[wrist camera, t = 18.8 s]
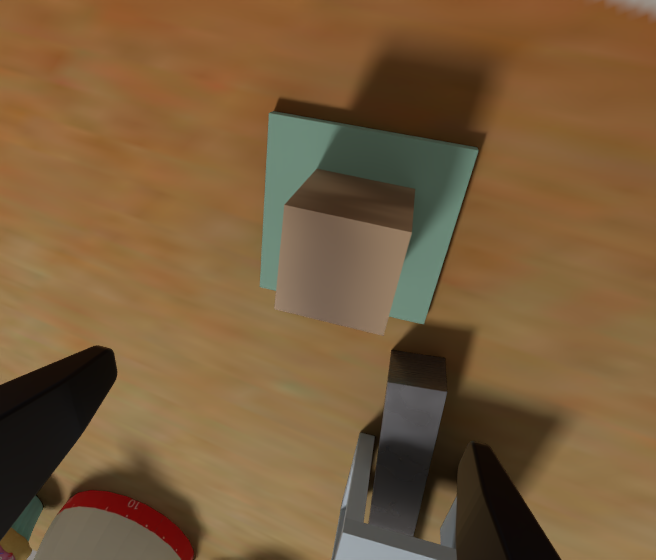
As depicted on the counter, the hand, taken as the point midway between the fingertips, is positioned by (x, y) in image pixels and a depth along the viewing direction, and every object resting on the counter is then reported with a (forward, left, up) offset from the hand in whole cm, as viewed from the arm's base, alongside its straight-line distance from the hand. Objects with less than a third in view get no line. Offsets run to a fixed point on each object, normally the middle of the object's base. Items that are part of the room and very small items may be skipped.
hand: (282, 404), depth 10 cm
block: (0, 0, -11) cm, 11 cm away
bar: (-6, +17, -12) cm, 22 cm away
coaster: (0, 0, -12) cm, 12 cm away
